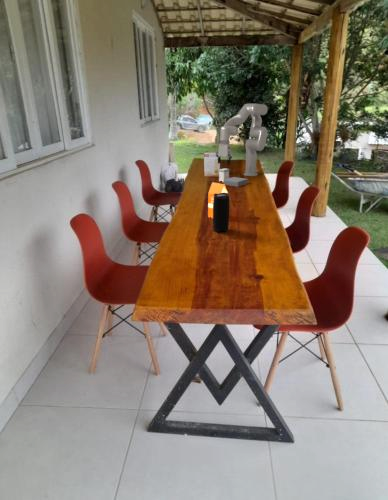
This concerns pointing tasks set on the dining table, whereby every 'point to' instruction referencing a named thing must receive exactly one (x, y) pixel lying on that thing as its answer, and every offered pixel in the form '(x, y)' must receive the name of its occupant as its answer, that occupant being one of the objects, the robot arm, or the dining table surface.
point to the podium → (235, 181)
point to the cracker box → (211, 165)
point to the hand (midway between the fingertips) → (223, 163)
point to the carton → (223, 174)
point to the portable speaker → (221, 212)
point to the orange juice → (214, 189)
